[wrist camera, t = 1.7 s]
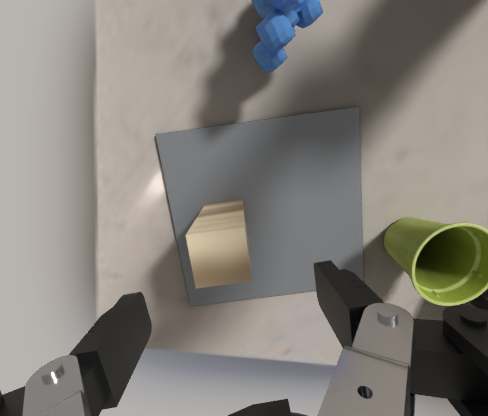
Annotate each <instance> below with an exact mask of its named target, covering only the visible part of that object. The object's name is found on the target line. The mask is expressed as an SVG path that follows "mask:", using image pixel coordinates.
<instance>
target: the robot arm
mask: <svg viewBox="0 0 488 416" xmlns="http://www.w3.org/2000/svg"><path fill="white" fill-rule="evenodd" d="M314 275H315V283H316V292H317V298H318V302H319V305H320V307H321V309H322V311H323V313H324V315H325V316H326V318H327V320H328V322H329V324H330V325H331V327H332V329H333V331H334V333H335V334H336V336H337V338H338V340H339V342H340V344H341V345H342V347H343V350H342V352H341V355H340V357H339V360H338V363H337V365H336V368H335V371H334V373H333V376H332V379H331V381H330V384H329V387H328V390H327V392H326V395H325V397H324V400H323V403H322V405H321V408H320V411H319V413H318V416H414V414H415V394H418V395H426V396H433V397H440V398H447V399H448V400H449V402H450V403H451V404H452V405H453V407H454V408H455V409H456V411H457V412H458V413H459V414H460V416H488V312H487V311H484V310H481V309H478V308H474V307H468V306H452V307H449V308H446V309H445V310H444V311H443V321H440V320H421V319H414V318H413V317H412V315H411V314H410V313H409V312H408V311H406V310H405V309H403V308H401V307H399V306H397V305H393V304H388V303H384V302H383V301H382V300H381V299H380V298H379V297H378V296H377V295H376V294H375V293H374V292H373V291H372V290H371V289H370V288H369V287H367V285H366V284H365V283H364V282H363V281H361V279H360V278H359V277H358V276H357V275H356V274H355V273H353V272H351V271H349V270H346V269H341V270H339V269H338V268H337V267H336V265H335V264H334V263H333V262H332V261H331V260H328V261H322V262H316V263H314ZM150 335H151V320H150V317H149V313H148V310H147V306H146V302H145V299H144V296H143V294H142V293H141V292H138V293H132V294H126V295H123V296H122V297H121V298H120V299H119V300H118V302H117V303H116V304H115V305H114V307H113V308H111V309H110V310H108V311H107V312H106V313H104V314H103V315H102V316H101V317H100V318H99V319H98V320H97V322H96V323H95V324H94V326H92V328H91V329H90V330H89V331H88V333H87V334H86V335H85V336H84V337H83V339H82V340H81V341H80V342H79V343H78V344H77V346H76V347H75V348H74V349H73V350H72V352H71V353H70V354H69V355H68V356H63V357H60V358H57V359H55V360H53V361H51V362H49V363H47V364H46V365H44V366H43V367H41V368H40V369H39V370H38V371H36V372H35V373H34V374H33V375H32V376H31V377H30V379H29V380H28V381H27V383H26V386H24V387H22V388H19V389H17V390H14V391H12V392H9V393H7V394H4V395H2V394H1V391H0V416H99V414H100V412H101V410H102V409H108V408H114V407H117V405H118V403H119V401H120V399H121V396H122V395H123V392H124V390H125V388H126V386H127V384H128V382H129V379H130V378H131V375H132V373H133V371H134V369H135V367H136V365H137V363H138V361H139V359H140V356H141V354H142V352H143V350H144V348H145V346H146V344H147V342H148V340H149V337H150ZM228 416H307V415H303V414H299V413H292V412H290V407H289V402H288V399H284V400H278V401H272V402H266V403H260V404H254V405H251V406H249V407H246V408H244V409H242V410H239V411H237V412H235V413H233V414H230V415H228Z"/></svg>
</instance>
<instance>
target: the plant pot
mask: <svg viewBox="0 0 488 416" xmlns="http://www.w3.org/2000/svg"><path fill="white" fill-rule="evenodd" d="M384 247H385V249H386V251H387V253H388V254H389V255H390V256H391V257H392V258H393V259H394V260H395V261H396V262H397V263H398V264H399V265H400V266H401V267H402V269H403V270H404V271H405V272H406V273H407V274H408V275H409V277H410V279H411V281H412V284H413V286H414V288H415V290H416V291H417V292H418V293H419V294H420V295H421V296H422V297H423V298H424V299H426V300H427V301H429V302H431V303H433V304H437V305H442V306H454V305H460V304H463V303H466V302H468V301H471V300H473V299H475V298H476V297H478V296H479V295H481V294H482V293H483V292H484V291H485V290H486V289H487V288H488V230H487V229H485V228H483V227H481V226H479V225H475V224H471V223H454V224H442V223H436V222H431V221H425V220H420V219H415V218H403V219H400V220H399V221H397V222H396V223H394V224H392V225H391V226H390V227H389V228H388V229H387V231H386V233H385V236H384Z"/></svg>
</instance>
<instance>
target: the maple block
mask: <svg viewBox="0 0 488 416" xmlns="http://www.w3.org/2000/svg"><path fill="white" fill-rule="evenodd" d="M186 240H187V246H188V251H189V256H190V261H191V266H192V271H193V277H194V282H195V287H196V288H204V287H212V286H219V285H227V284H235V283H243V282H251V281H252V276H251V266H250V256H249V245H248V235H247V228H246V220H245V213H244V206H243V200H237V201H229V202H222V203H214V204H207V205H204V207H203V208H202V210H201V211H200V213H199V215H198V216H197V218H196V219H195V221H194V223H193V224H192V226H191V227H190V229H189V230H188V232H187V234H186Z"/></svg>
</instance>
